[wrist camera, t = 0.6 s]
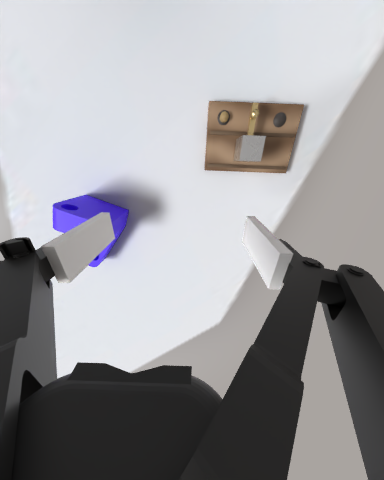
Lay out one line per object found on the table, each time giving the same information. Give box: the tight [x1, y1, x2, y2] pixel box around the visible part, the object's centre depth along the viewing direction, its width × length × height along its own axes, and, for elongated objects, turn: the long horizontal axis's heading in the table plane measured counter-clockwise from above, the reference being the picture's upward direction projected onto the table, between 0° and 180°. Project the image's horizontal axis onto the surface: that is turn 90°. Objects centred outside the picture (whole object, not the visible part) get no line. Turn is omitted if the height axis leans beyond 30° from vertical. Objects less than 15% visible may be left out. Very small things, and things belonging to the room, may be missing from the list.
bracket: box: [53, 195, 129, 267], centre depth 39 cm, size 18×11×12 cm, turn 159°
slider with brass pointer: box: [234, 103, 266, 162], centre depth 30 cm, size 9×4×5 cm, turn 178°
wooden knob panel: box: [205, 101, 304, 173], centre depth 33 cm, size 12×18×3 cm, turn 88°
